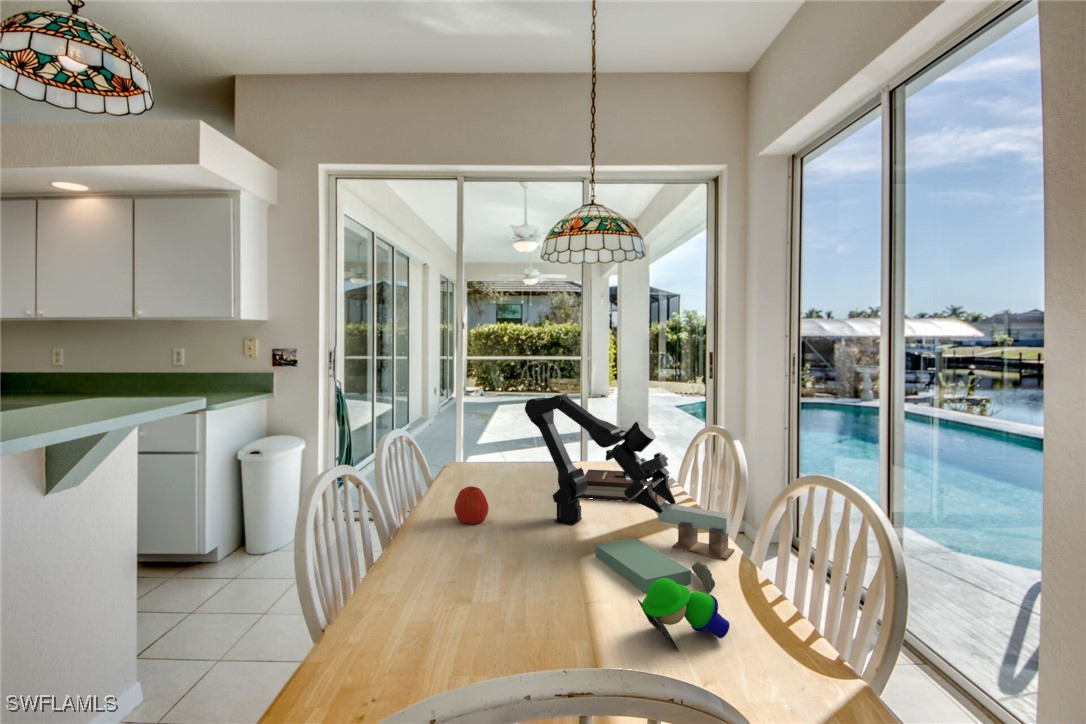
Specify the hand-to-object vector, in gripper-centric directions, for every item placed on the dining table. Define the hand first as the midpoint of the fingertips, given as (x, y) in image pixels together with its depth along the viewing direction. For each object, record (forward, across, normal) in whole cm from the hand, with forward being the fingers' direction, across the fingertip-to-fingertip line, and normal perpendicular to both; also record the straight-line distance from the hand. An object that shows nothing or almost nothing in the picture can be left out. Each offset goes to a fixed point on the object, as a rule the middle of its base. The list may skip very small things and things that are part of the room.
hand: (668, 508), depth 147 cm
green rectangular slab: (+7, -20, +6) cm, 22 cm away
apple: (-33, -17, +46) cm, 59 cm away
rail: (+7, 0, -2) cm, 8 cm away
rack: (+13, 0, 0) cm, 13 cm away
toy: (+21, -43, -7) cm, 49 cm away
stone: (+18, -19, -4) cm, 27 cm away
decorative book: (-16, +35, +29) cm, 48 cm away
